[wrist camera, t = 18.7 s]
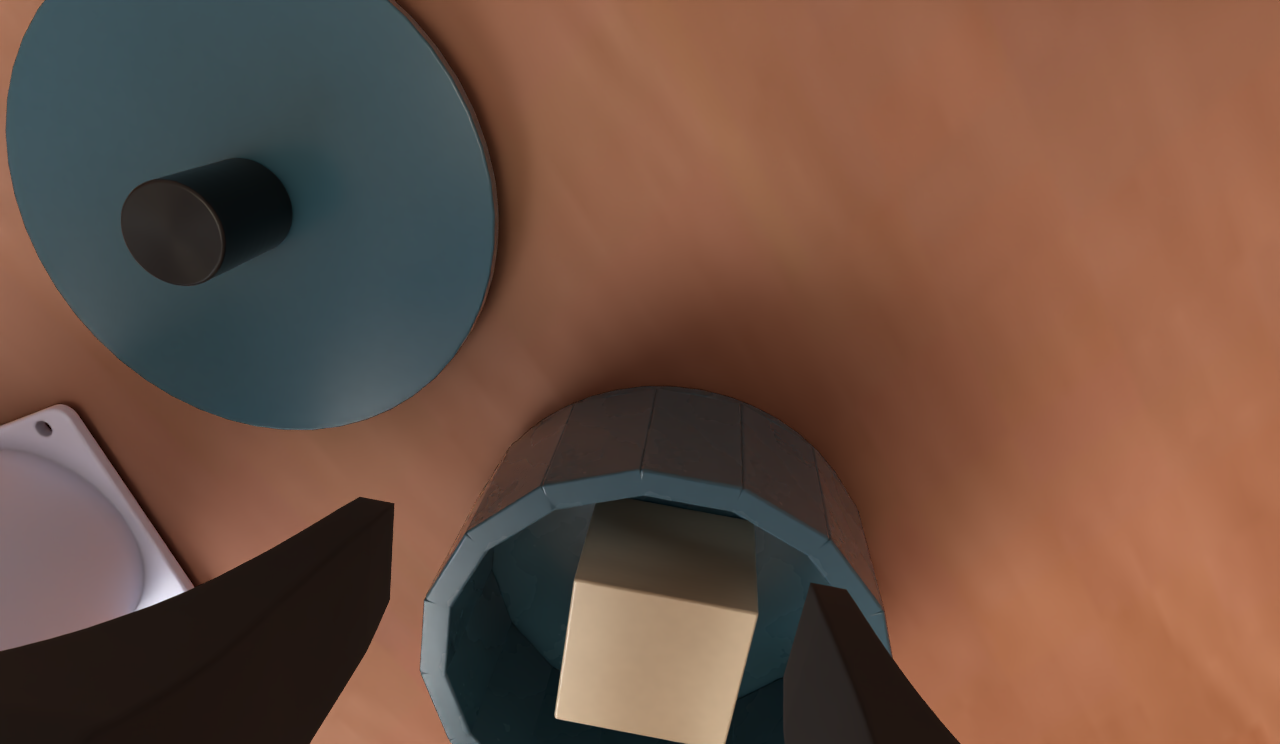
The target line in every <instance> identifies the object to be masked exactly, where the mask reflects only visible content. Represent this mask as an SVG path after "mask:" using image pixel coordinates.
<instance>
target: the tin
mask: <svg viewBox="0 0 1280 744" xmlns="http://www.w3.org/2000/svg"><path fill="white" fill-rule="evenodd" d="M625 498H628V499H634V500H639V501H645V502H650V503H656V504H661V505H667V506H672V507H678V508H683V509H688V510H694V511H699V512H705V513H710V514H716V515H721V516H727V517H732V518H738V519H743V520H747V521H749V522H751V523H752V524H754V529H755V550H756V571H757V592H758V614H759V615H758V619H757V623H756V627H755V631H754V634H753V638H752V642H751V646H750V650H749V654H748V658H747V662H746V666H745V670H744V674H743V677H742V681H741V685H740V689H739V693H738V697H737V701H736V705H735V709H734V713H733V716H732V720H731V724H730V728H729V732H728V736H727V740H726V744H785V741H784V732H783V682H784V673H785V669H786V666H787V662H788V659H789V655H790V652H791V648H792V645H793V642H794V638H795V635H796V631H797V628H798V624H799V621H800V617H801V614H802V610H803V607H804V603H805V600H806V597H807V593H808V590H809V586H810V583H816V584H821V585H826V586H832V587H837V588H842V589H847V591H848V592H849V594H850V595H851V597H852V598H853V600H854V601H855V603H856V604H857V606H858V607H859V609H860V610H861V612H862V613H863V615H864V617H865V618H866V620H867V621H868V623H869V624H870V626H871V627H872V629H873V630H874V632H875V633H876V635H877V636H878V638H879V639H880V641H881V642H882V644H883V645H884V647H885V648H886V650H887V651H888V653H889V654H890V655H891V657H892V651H891V646H890V640H889V634H888V628H887V622H886V616H885V611H884V607H883V603H882V600H881V596H880V592H879V588H878V584H877V580H876V577H875V573H874V569H873V565H872V561H871V557H870V554H869V550H868V546H867V542H866V538H865V534H864V531H863V527H862V523H861V519H860V515H859V511H858V510H857V507H856V505H855V504H854V503H853V501H852V500H851V498H850V497H849V495H848V493H847V491H846V489H845V487H844V486H843V484H842V482H841V481H840V479H839V478H838V476H837V474H836V473H835V471H834V470H833V469H832V467H831V466H830V465H829V464H828V463H827V461H826V460H825V459H824V458H823V457H822V455H821V454H820V453H819V452H818V451H817V450H816V449H815V448H814V447H813V446H812V445H811V444H810V443H808V442H807V441H806V440H805V439H804V438H803V437H802V436H801V435H800V434H798V433H797V432H796V431H794V430H793V429H791V428H790V427H788V426H787V425H786V424H784V423H783V422H781V421H780V420H778V419H777V418H775V417H773V416H771V415H769V414H767V413H765V412H763V411H762V410H760V409H758V408H756V407H754V406H752V405H749V404H746V403H744V402H741V401H738V400H736V399H733V398H730V397H728V396H724V395H720V394H716V393H712V392H708V391H703V390H699V389H691V388H682V387H673V386H643V387H635V388H628V389H620V390H614V391H610V392H606V393H603V394H599V395H595V396H591V397H588V398H586V399H583V400H581V401H578V402H576V403H573V404H571V405H568V406H566V407H564V408H563V409H561V410H559V411H557V412H555V413H554V414H552V415H550V416H548V417H546V418H545V419H543V420H542V421H541V422H540V423H538V424H537V425H536V426H534V427H533V428H532V429H530V430H529V431H528V432H526V433H525V434H524V435H523V436H522V437H521V438H520V439H519V440H518V441H516V442H515V443H513V444H512V445H511V447H509V449H508V450H507V452H506V454H505V455H504V457H503V458H502V460H501V462H500V463H499V465H498V466H497V467H496V469H495V471H494V473H493V475H492V476H491V478H490V480H489V481H488V483H487V484H486V486H485V488H484V489H483V491H482V492H481V494H480V496H479V497H478V499H477V501H476V502H475V504H474V506H473V508H472V510H471V512H470V514H469V515H468V517H467V519H466V521H465V523H464V525H463V527H462V529H461V530H460V532H459V534H458V536H457V538H456V540H455V542H454V544H453V546H452V547H451V549H450V551H449V553H448V555H447V557H446V559H445V561H444V562H443V564H442V566H441V568H440V570H439V572H438V574H437V576H436V578H435V579H434V581H433V583H432V585H431V587H430V589H429V591H428V593H427V594H426V597H425V599H424V609H423V626H422V643H421V659H420V672H421V675H422V678H423V680H424V682H425V685H426V687H427V689H428V692H429V694H430V697H431V699H432V701H433V704H434V706H435V708H436V711H437V713H438V715H439V718H440V720H441V723H442V725H443V727H444V730H445V732H446V734H447V737H448V739H450V742H451V743H452V744H685V743H680V742H674V741H669V740H664V739H659V738H654V737H648V736H643V735H638V734H633V733H628V732H622V731H617V730H612V729H607V728H602V727H596V726H591V725H586V724H581V723H576V722H570V721H565V720H560V719H556V718H555V716H554V713H555V706H556V699H557V693H558V686H559V679H560V672H561V665H562V658H563V651H564V644H565V637H566V631H567V624H568V617H569V610H570V603H571V596H572V589H573V582H574V578H575V574H576V571H577V567H578V564H579V560H580V556H581V553H582V549H583V546H584V542H585V539H586V535H587V532H588V528H589V524H590V521H591V517H592V514H593V510H594V507H595V503H601V502H607V501H613V500H619V499H625ZM892 658H893V657H892Z"/></svg>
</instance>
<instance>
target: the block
mask: <svg viewBox="0 0 1280 744" xmlns="http://www.w3.org/2000/svg"><path fill="white" fill-rule="evenodd" d="M758 615H759V614H758V592H757V571H756V550H755V529H754V524H752V523H751V522H749V521H747V520H743V519H738V518H732V517H727V516H721V515H716V514H710V513H705V512H699V511H694V510H688V509H683V508H678V507H672V506H667V505H661V504H656V503H650V502H645V501H639V500H634V499H628V498H625V499H619V500H613V501H607V502H601V503H595V507H594V510H593V514H592V517H591V521H590V524H589V528H588V532H587V535H586V539H585V542H584V546H583V549H582V553H581V556H580V560H579V564H578V567H577V571H576V574H575V578H574V582H573V589H572V596H571V603H570V610H569V617H568V624H567V631H566V637H565V644H564V651H563V658H562V665H561V672H560V679H559V686H558V693H557V699H556V706H555V713H554V716H555V718H556V719H560V720H565V721H570V722H576V723H581V724H586V725H591V726H596V727H602V728H607V729H612V730H617V731H622V732H628V733H633V734H638V735H643V736H648V737H654V738H659V739H664V740H669V741H674V742H680V743H685V744H726V740H727V736H728V732H729V728H730V724H731V720H732V716H733V713H734V709H735V705H736V701H737V697H738V693H739V689H740V685H741V681H742V677H743V674H744V670H745V666H746V662H747V658H748V654H749V650H750V646H751V642H752V638H753V634H754V631H755V627H756V623H757V619H758Z"/></svg>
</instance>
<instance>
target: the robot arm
mask: <svg viewBox="0 0 1280 744" xmlns="http://www.w3.org/2000/svg"><path fill="white" fill-rule="evenodd" d="M45 422H46V423H48V424H49V425H50V426H51V429H52V430H51V429H50V428H49V427H48V426H47V425H46V423H45ZM393 521H394V503H389V502H384V501H379V500H373V499H368V498H363V497H359V498H357V499H355V500H353V501H352V502H350V503H348V504H346V505H345V506H343V507H341V508H340V509H338V510H336V511H335V512H333V513H331V514H330V515H328V516H326V517H325V518H323V519H321V520H320V521H318V522H316V523H315V524H313V525H311V526H310V527H308V528H306V529H305V530H303V531H301V532H300V533H298V534H296V535H294V536H293V537H291V538H289V539H288V540H286V541H284V542H282V543H281V544H279V545H277V546H275V547H274V548H272V549H270V550H268V551H267V552H265V553H263V554H261V555H259V556H257V557H255V558H253V559H251V560H249V561H247V562H245V563H243V564H242V565H240V566H238V567H236V568H234V569H232V570H230V571H228V572H226V573H224V574H222V575H220V576H218V577H216V578H214V579H212V580H210V581H208V582H206V583H204V584H201V585H199V586H197V587H194V586H193V584H192V583H191V581H190V580H189V578H188V577H187V575H186V574H185V572H184V571H183V569H182V568H181V566H180V565H179V563H178V562H177V561H176V559H175V558H174V556H173V555H172V553H171V552H170V550H169V549H168V547H167V546H166V544H165V543H164V541H163V540H162V538H161V537H160V535H159V534H158V532H157V531H156V529H155V528H154V526H153V525H152V523H151V522H150V521H149V519H148V518H147V516H146V515H145V513H144V512H143V510H142V509H141V507H140V506H139V504H138V503H137V501H136V500H135V498H134V497H133V495H132V494H131V492H130V491H129V489H128V488H127V486H126V485H125V483H124V482H123V480H122V479H121V478H120V476H119V475H118V473H117V472H116V470H115V469H114V467H113V466H112V464H111V463H110V461H109V460H108V458H107V457H106V455H105V454H104V452H103V451H102V449H101V448H100V446H99V445H98V443H97V442H96V440H95V439H94V438H93V436H92V435H91V433H90V432H89V430H88V429H87V427H86V426H85V424H84V423H83V421H82V420H81V418H80V417H79V415H78V414H77V413H76V412H75V411H74V409H72V408H70V407H69V406H67V405H63V404H58V405H54V406H51V407H48V408H46V409H43V410H40V411H38V412H35V413H32V414H30V415H27V416H25V417H22V418H19V419H17V420H14V421H11V422H9V423H6V424H4V425H1V426H0V744H310V742H311V740H312V739H313V737H314V736H315V734H316V732H317V731H318V729H319V728H320V726H321V724H322V723H323V721H324V720H325V718H326V716H327V715H328V713H329V712H330V710H331V708H332V707H333V705H334V704H335V702H336V700H337V699H338V697H339V696H340V694H341V692H342V691H343V689H344V687H345V686H346V684H347V683H348V681H349V679H350V678H351V676H352V674H353V673H354V671H355V670H356V668H357V666H358V665H359V663H360V661H361V660H362V658H363V656H364V655H365V653H366V651H367V649H368V647H369V645H370V643H371V641H372V639H373V636H374V634H375V632H376V630H377V628H378V625H379V623H380V621H381V619H382V616H383V614H384V612H385V609H386V607H387V605H388V603H389V600H390V583H391V562H392V542H393ZM783 732H784V741H785V744H960V743H959V742H958V740H957V739H956V738H955V737H954V736H953V735H952V734H951V733H950V731H949V730H948V729H947V728H946V727H945V726H944V725H943V723H942V722H941V721H940V720H939V718H938V717H937V716H936V715H935V714H934V712H933V711H932V710H931V709H930V707H929V706H928V705H927V704H926V702H925V701H924V700H923V699H922V698H921V696H920V695H919V694H918V692H917V691H916V690H915V688H914V687H913V686H912V685H911V683H910V682H909V681H908V679H907V678H906V677H905V675H904V674H903V672H902V671H901V670H900V668H899V667H898V665H897V664H896V663H895V661H894V660H893V658H892V657H891V655H890V654H889V653H888V651H887V650H886V648H885V647H884V645H883V644H882V642H881V641H880V639H879V638H878V636H877V635H876V633H875V632H874V630H873V629H872V627H871V626H870V624H869V623H868V621H867V620H866V618H865V617H864V615H863V613H862V612H861V610H860V609H859V607H858V606H857V604H856V603H855V601H854V600H853V598H852V597H851V595H850V594H849V592H848V591H847V589H842V588H837V587H832V586H826V585H821V584H816V583H810V586H809V590H808V593H807V597H806V600H805V603H804V607H803V610H802V614H801V617H800V621H799V624H798V628H797V631H796V635H795V638H794V642H793V645H792V648H791V652H790V655H789V659H788V662H787V666H786V669H785V673H784V682H783Z"/></svg>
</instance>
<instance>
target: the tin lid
mask: <svg viewBox="0 0 1280 744" xmlns="http://www.w3.org/2000/svg"><path fill="white" fill-rule="evenodd" d="M6 141H7V153H8V164H9V169H10V174H11V179H12V184H13V189H14V194H15V198H16V201H17V204H18V207H19V210H20V213H21V216H22V219H23V222H24V225H25V228H26V230H27V233H28V235H29V237H30V239H31V241H32V244H33V246H34V248H35V250H36V253H37V255H38V257H39V259H40V261H41V262H42V264H43V266H44V268H45V269H46V271H47V273H48V275H49V276H50V278H51V280H52V282H53V283H54V285H55V287H56V288H57V289H58V291H59V292H60V294H61V295H62V296H63V298H64V299H65V301H66V302H67V303H68V305H69V306H70V308H71V309H72V310H73V312H74V313H75V314H76V315H77V317H78V318H79V319H80V320H81V321H82V322H83V323H84V325H85V326H86V327H87V328H88V329H89V330H90V331H91V332H92V334H93V335H94V336H95V337H96V338H97V339H98V340H99V341H100V342H101V343H102V344H103V345H104V346H105V347H107V348H108V349H109V350H110V351H111V352H112V353H113V354H114V355H115V356H116V357H117V358H118V359H119V360H121V361H122V362H123V363H124V364H126V365H127V366H128V367H130V368H131V369H132V370H134V371H135V372H136V373H138V374H139V375H140V376H141V377H143V378H144V379H145V380H147V381H149V382H150V383H152V384H153V385H155V386H157V387H158V388H160V389H162V390H163V391H165V392H166V393H168V394H170V395H171V396H173V397H175V398H177V399H179V400H181V401H183V402H185V403H188V404H190V405H192V406H194V407H196V408H198V409H200V410H203V411H206V412H208V413H211V414H214V415H217V416H219V417H222V418H225V419H228V420H232V421H236V422H240V423H244V424H248V425H253V426H257V427H265V428H274V429H282V430H315V429H323V428H331V427H339V426H344V425H348V424H351V423H355V422H359V421H363V420H366V419H369V418H371V417H374V416H376V415H378V414H381V413H383V412H386V411H388V410H390V409H392V408H394V407H396V406H397V405H399V404H401V403H402V402H404V401H406V400H407V399H409V398H411V397H412V396H414V395H415V394H416V393H418V392H419V391H420V390H421V389H422V388H424V387H425V386H426V385H427V384H429V383H430V382H431V381H432V380H433V379H435V378H436V377H437V375H438V374H439V373H440V372H441V371H442V370H443V369H444V368H445V366H446V365H447V364H448V363H449V362H450V361H451V360H452V359H453V358H454V356H455V355H456V354H457V353H458V351H459V350H460V348H461V347H462V345H463V344H464V342H465V341H466V339H467V338H468V336H469V334H470V333H471V331H472V330H473V328H474V326H475V324H476V322H477V319H478V317H479V315H480V313H481V311H482V309H483V306H484V304H485V301H486V298H487V295H488V291H489V288H490V285H491V281H492V278H493V275H494V268H495V262H496V255H497V249H498V227H499V209H498V200H497V191H496V182H495V176H494V172H493V168H492V163H491V159H490V155H489V151H488V147H487V143H486V140H485V138H484V135H483V132H482V130H481V127H480V124H479V121H478V119H477V116H476V113H475V111H474V109H473V107H472V105H471V103H470V101H469V99H468V97H467V95H466V93H465V91H464V89H463V87H462V85H461V83H460V81H459V79H458V77H457V76H456V74H455V73H454V71H453V70H452V68H451V67H450V65H449V64H448V62H447V61H446V59H445V58H444V56H443V55H442V53H441V52H440V50H439V49H438V47H437V46H436V45H435V44H434V42H433V41H432V40H431V39H430V38H429V36H428V35H427V34H426V33H425V32H424V31H423V29H422V28H421V27H420V26H419V25H418V24H417V22H416V21H415V20H414V19H413V18H412V17H411V16H410V15H409V14H408V13H407V12H406V11H405V10H404V9H403V8H402V7H401V6H400V5H399V4H397V3H396V2H395V1H394V0H45V1H44V2H43V3H42V5H41V6H40V7H39V9H38V10H37V12H36V14H35V16H34V18H33V19H32V21H31V23H30V25H29V27H28V29H27V31H26V33H25V35H24V37H23V39H22V42H21V45H20V48H19V51H18V54H17V57H16V60H15V63H14V65H13V69H12V75H11V80H10V86H9V91H8V97H7V113H6Z"/></svg>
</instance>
